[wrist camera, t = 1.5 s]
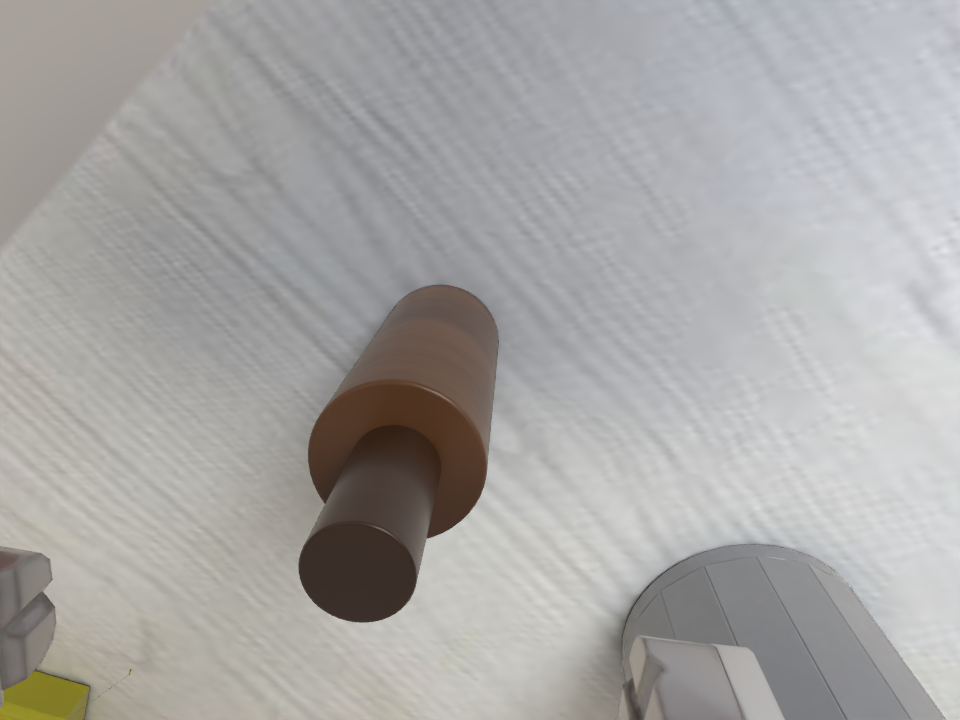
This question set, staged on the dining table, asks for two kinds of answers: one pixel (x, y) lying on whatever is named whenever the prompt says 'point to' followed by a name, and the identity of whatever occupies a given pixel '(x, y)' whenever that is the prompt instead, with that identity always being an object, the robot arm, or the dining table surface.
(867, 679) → the steel cup
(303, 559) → the brown bottle
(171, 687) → the dining table surface
